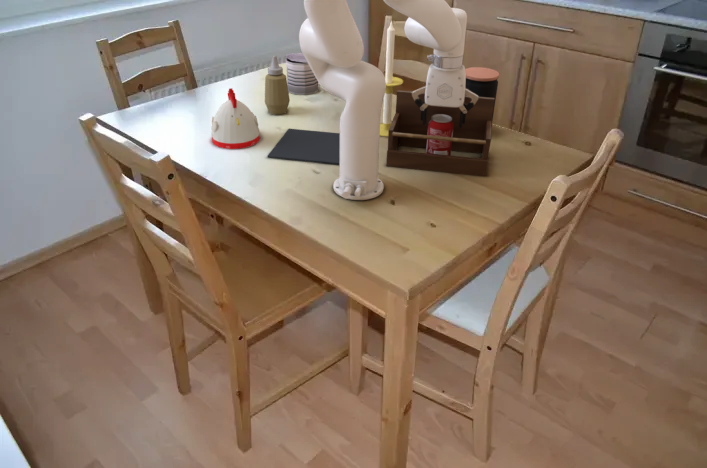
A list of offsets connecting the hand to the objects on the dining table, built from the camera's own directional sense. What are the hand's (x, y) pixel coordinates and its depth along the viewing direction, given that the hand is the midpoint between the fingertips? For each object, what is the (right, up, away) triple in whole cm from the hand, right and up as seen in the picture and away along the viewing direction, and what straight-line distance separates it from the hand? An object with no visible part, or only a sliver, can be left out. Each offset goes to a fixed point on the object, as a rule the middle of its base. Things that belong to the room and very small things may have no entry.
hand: (442, 124), depth 157 cm
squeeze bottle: (-49, +10, +34) cm, 60 cm away
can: (-42, +22, +53) cm, 71 cm away
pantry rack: (-1, -9, +5) cm, 10 cm away
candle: (-14, +2, +22) cm, 26 cm away
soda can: (-1, -9, +5) cm, 10 cm away
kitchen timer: (-58, -2, +15) cm, 60 cm away
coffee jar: (+13, +2, +23) cm, 26 cm away
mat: (-34, -5, +11) cm, 36 cm away
